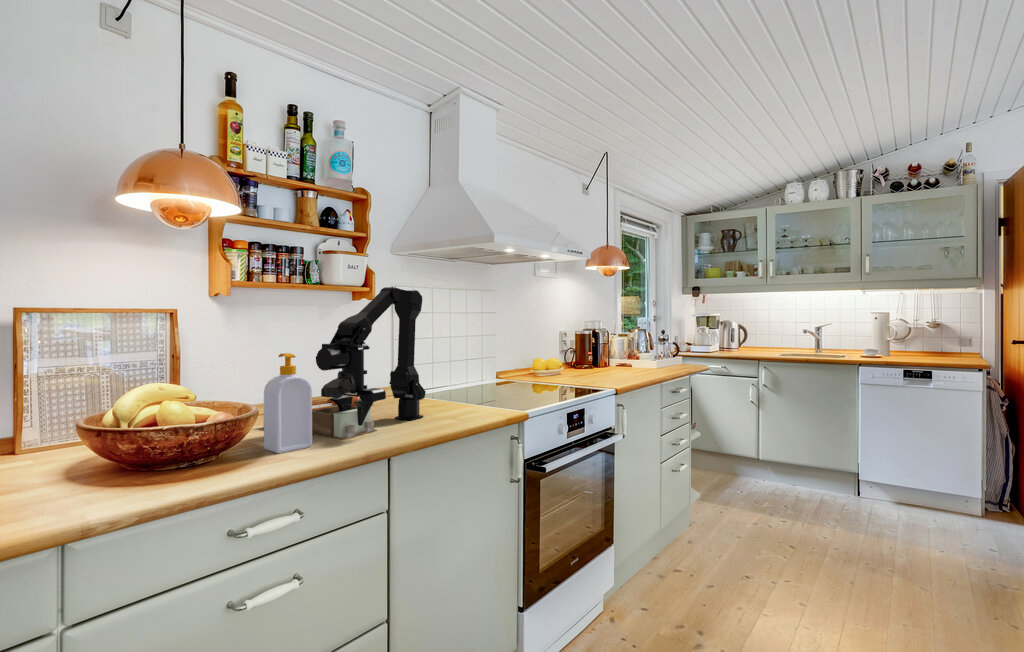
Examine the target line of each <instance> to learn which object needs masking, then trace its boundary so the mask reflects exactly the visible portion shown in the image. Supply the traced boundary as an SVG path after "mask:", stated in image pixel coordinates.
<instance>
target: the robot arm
mask: <svg viewBox="0 0 1024 652" xmlns="http://www.w3.org/2000/svg"><path fill="white" fill-rule="evenodd" d="M392 305H393V307H394V312H395V314H396V316H397V317H398V345H397V346H398V347H397V366H396V367H395V369H394V370H391V371H390V374H389V377H390V380H389V385H390V389H391V392H392V397H393V399H398V404H397V413H398V414H397V415H396V416H395V417H394V419H397V420H405V421H413V420H417V419H420V418H424V415H423V414H420V401H422V400H423V399H425V397H426V393H427V392H426V390H425V388H424V387H423V386H422V385H421V384H420V377H419V376H420V375H419V372H418V371H417V369H416V367H415V347H416V346H415V345H416V320H417V318H418V317H419V315H420V314H421V312H422V305H423V295H421V293H420V291H419V290H416V289H415V290H412V289H411V290H406V289H401V288H399V287H396V286H392V287H391V286H388V287H387V286H386V287H382V288H381V290H380V291H379V293H378V294H377V295H376V296H375V297H373V299H371V300H370V301H369V302H368V303H367V304H366V305H365V306H364V307H363V308H362V309H360V311H359V312H358V313H356V314H354V315H351V316H349V317H347V318H345V319H344V320H343V321H341V322H340V323H339V324H338V326H337V330H336V332H335V333H334V335H333V337H332V339H331V340H330V343H321V348H320V349H319V350H318V352H317V353H316V356H315V364H316V365H317V367H318V368H319V370H320V371H325V372H326V371H332V370H338V372H337V377H336V378H334V379H332V380H330V381H329V382H327V383H325V384H324V385H323V386H322V388H321V389H320V390H321V391H320V396H321V397H322V398H323V397H324V398H329V400H330V401H331V402H332V401H333V402H335V403H336V404H337V406H338V408H339V410H340V412H343V411H348V410H351V405H352V398H353V397H352V396H356V397H358V399H359V401H354V403H355V405H356V406H357V418H358V425H359V426H361V425H362V424H363V422H364V420H365V418H366V416H367V413H368V411H369V409H370V408H371V407H372V406H373V405H374V403H375V402H378V401H382V400H386V399H387V397H386V396H387V393H386V391H385V389H384V388H379V387H372V388H368V384H365V375H367V374H368V369H365V350H370V346H369V345H368V344H366V343H365V342H366V340H367V339H368V337H369V336H370V334H371V333H372V329H373V325H374V324H375V322H376V321H377V320H378V319H379V318H380V317H381V316H382V315H383V314H384V313H385V312H386V311H387V310H388V309H389V308H390V307H391V306H392ZM349 392H351V393H349Z"/></svg>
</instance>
